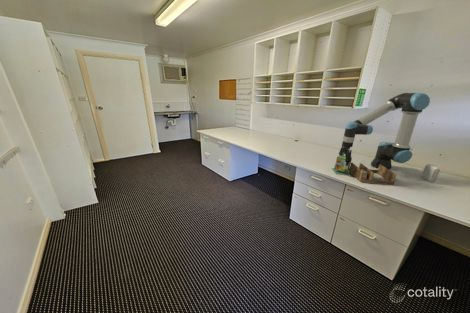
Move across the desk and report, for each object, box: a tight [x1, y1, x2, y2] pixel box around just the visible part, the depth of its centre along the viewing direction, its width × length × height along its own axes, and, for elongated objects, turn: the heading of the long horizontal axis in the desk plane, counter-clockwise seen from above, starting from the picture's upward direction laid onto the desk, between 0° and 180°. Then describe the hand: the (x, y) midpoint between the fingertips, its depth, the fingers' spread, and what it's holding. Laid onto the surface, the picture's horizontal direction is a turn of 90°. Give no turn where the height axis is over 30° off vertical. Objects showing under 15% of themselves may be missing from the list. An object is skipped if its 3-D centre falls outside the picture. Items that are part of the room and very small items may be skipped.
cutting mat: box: [331, 167, 352, 176], centre depth 158 cm, size 12×12×1 cm
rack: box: [348, 162, 397, 186], centre depth 147 cm, size 22×23×8 cm
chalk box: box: [333, 153, 353, 172], centre depth 154 cm, size 9×9×15 cm
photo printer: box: [421, 163, 441, 183], centre depth 143 cm, size 10×4×12 cm, turn 167°
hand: (342, 166), depth 156 cm, fingers closed on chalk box, 12 cm apart
